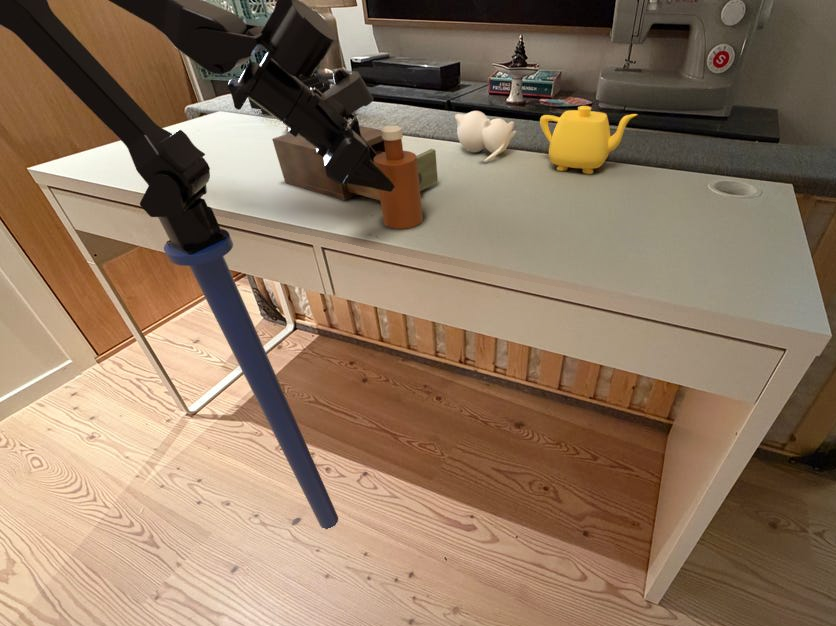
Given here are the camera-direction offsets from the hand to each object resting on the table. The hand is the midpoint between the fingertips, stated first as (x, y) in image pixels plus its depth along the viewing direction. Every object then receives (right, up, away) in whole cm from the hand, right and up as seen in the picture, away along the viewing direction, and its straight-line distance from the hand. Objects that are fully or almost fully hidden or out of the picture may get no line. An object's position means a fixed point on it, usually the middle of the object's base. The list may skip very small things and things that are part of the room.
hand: (388, 177), depth 70 cm
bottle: (+2, -5, +5) cm, 7 cm away
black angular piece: (-33, +39, +54) cm, 74 cm away
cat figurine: (+15, +16, +28) cm, 36 cm away
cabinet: (-13, +7, +19) cm, 24 cm away
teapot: (+35, +11, +22) cm, 42 cm away
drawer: (-4, +4, +14) cm, 15 cm away
